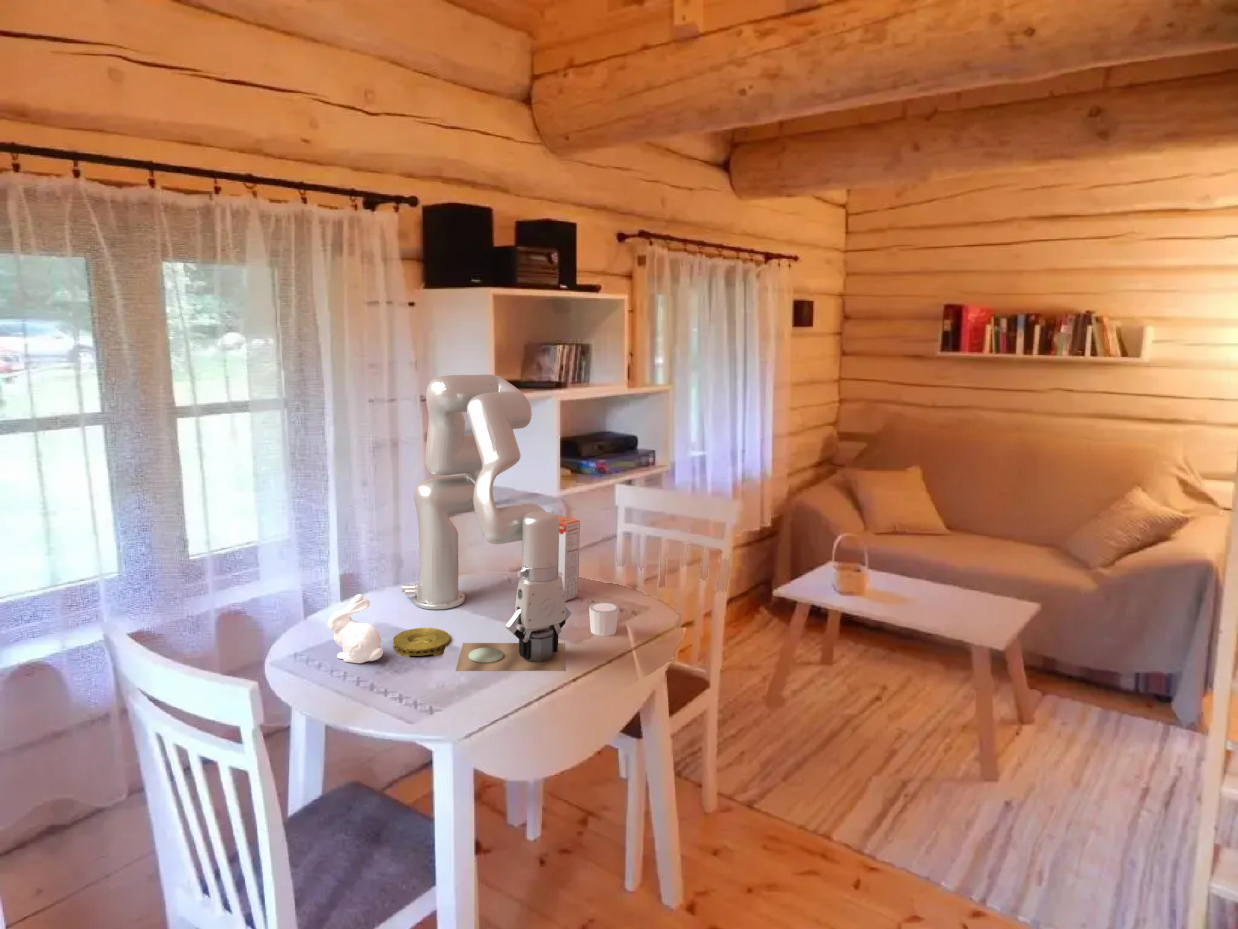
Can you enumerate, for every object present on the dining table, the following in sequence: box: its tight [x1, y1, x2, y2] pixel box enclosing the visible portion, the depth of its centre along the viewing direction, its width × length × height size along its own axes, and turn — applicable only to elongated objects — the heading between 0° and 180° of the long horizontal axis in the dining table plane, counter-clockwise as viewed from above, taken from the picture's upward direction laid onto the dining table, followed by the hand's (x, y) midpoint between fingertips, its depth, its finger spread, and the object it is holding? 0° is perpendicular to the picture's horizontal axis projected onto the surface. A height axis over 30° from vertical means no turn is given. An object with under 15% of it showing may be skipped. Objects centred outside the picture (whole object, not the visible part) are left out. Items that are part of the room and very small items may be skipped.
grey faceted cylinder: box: [524, 626, 554, 662], centre depth 173 cm, size 6×6×6 cm
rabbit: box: [327, 593, 384, 664], centre depth 172 cm, size 12×9×12 cm
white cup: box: [588, 601, 620, 637], centre depth 188 cm, size 7×7×7 cm
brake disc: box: [392, 627, 451, 658], centre depth 179 cm, size 12×12×2 cm
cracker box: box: [554, 513, 581, 603], centre depth 213 cm, size 14×6×21 cm, turn 52°
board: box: [455, 642, 566, 672], centre depth 173 cm, size 22×14×6 cm, turn 95°
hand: (538, 653), depth 173 cm, fingers closed on grey faceted cylinder, 6 cm apart
